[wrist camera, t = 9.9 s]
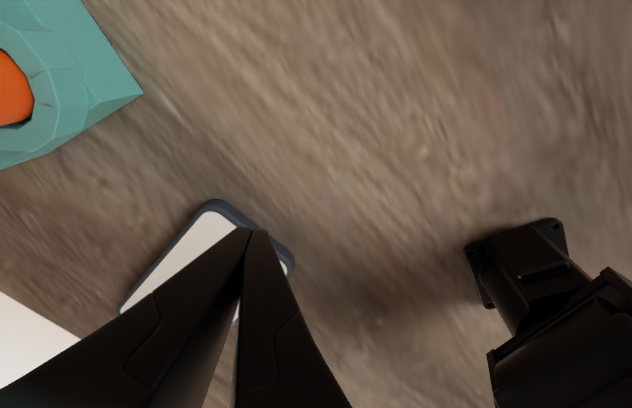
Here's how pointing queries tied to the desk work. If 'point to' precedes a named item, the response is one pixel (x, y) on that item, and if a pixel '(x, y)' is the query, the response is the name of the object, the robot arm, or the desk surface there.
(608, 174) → the desk surface
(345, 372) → the desk surface
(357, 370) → the desk surface
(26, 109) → the orange short cylinder
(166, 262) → the phone case
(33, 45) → the cap block
